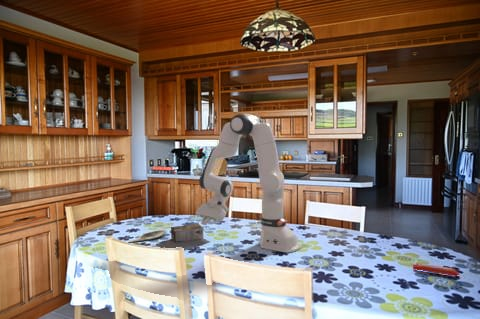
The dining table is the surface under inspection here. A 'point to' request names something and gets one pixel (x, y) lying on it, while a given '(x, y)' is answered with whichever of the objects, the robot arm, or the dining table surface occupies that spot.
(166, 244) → the rubber mat
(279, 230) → the robot arm
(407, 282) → the dining table surface
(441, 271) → the sausage
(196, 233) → the coffee box
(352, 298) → the dining table surface
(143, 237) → the spoon
